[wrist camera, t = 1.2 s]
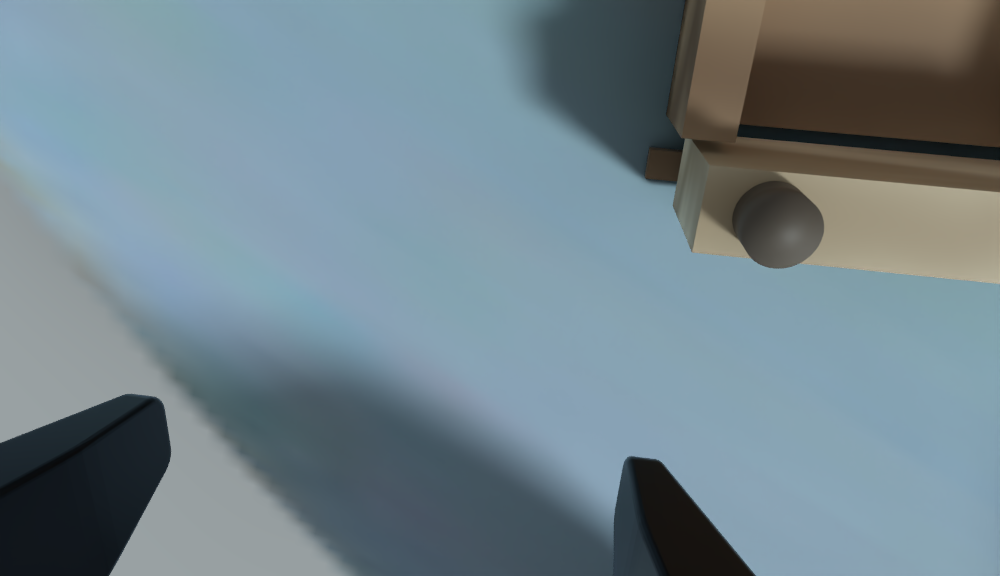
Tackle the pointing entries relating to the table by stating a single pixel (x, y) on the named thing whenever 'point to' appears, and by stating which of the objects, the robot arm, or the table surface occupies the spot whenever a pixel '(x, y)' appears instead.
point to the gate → (841, 207)
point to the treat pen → (835, 71)
